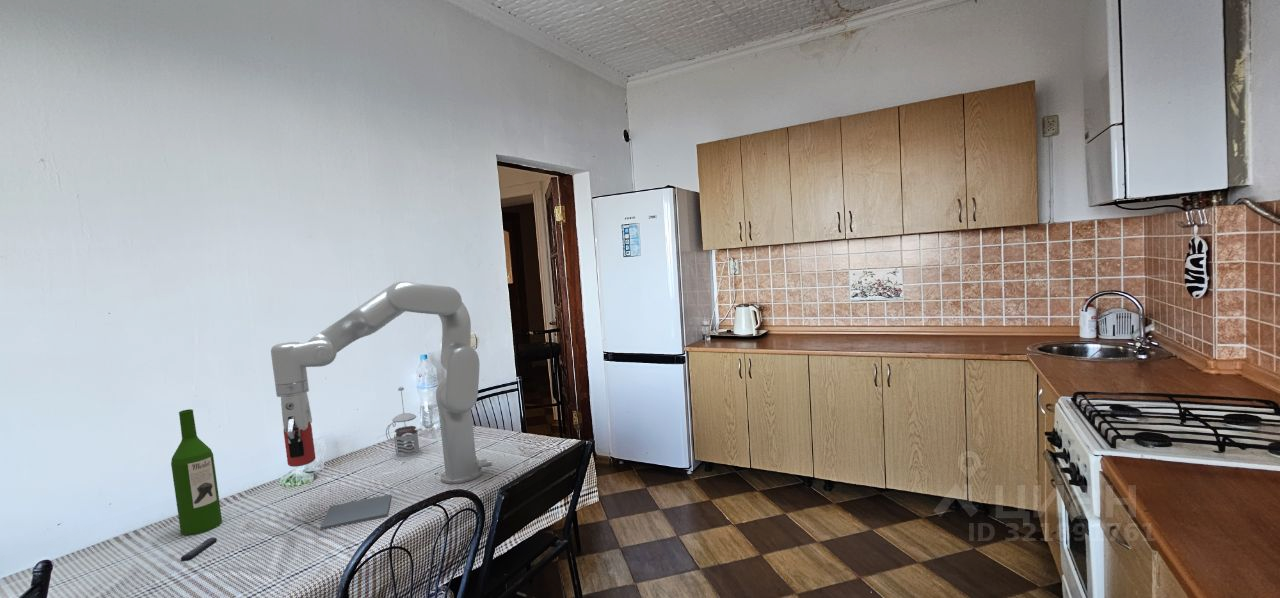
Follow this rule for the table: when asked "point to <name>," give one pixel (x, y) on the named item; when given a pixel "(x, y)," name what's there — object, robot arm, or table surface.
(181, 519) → the wine bottle
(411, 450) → the french press
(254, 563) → the table surface
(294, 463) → the beer can
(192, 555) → the usb stick
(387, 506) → the mat
